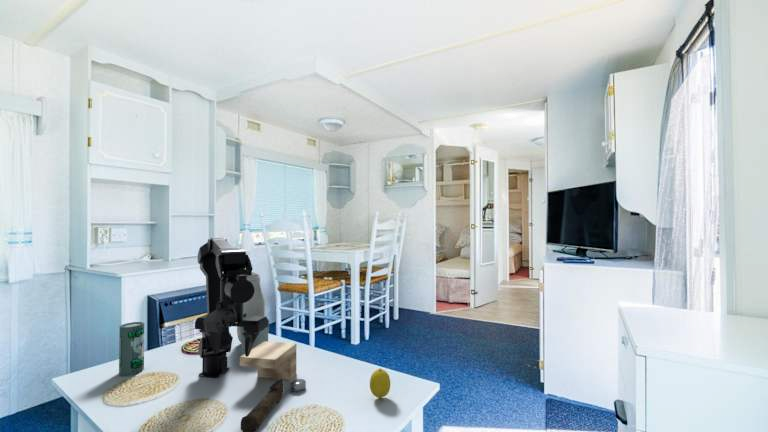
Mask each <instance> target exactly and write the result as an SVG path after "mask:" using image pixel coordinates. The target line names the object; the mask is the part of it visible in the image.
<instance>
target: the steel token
mask: <svg viewBox="0 0 768 432" xmlns="http://www.w3.org/2000/svg"><path fill="white" fill-rule="evenodd" d="M306 385H307V383H306V380H305V379H303V378H297V379H296V378H295V379H293V380H291V381H290V382H289V391H290V392H291V393H293V394H299V393H303V392H304V391H306V387H307V386H306Z"/></svg>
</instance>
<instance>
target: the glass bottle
mask: <svg viewBox="0 0 768 432" xmlns="http://www.w3.org/2000/svg"><path fill="white" fill-rule="evenodd" d="M246 280H248V281H250V282H251V283H252V284H253V286H254V289H255V291H254V295H253V297H252V298H251V299H250V300H249V301H247V302H245V303H244V312H243V313H246V317H245V318H243V319H249V318H252V317H254V316H265V315H266V314H265V313H266V312H265V311H266V310H265V309H266V307H265V306H266V305H265V298H264V295H263V292H262V287H261V277H260V274H259V273H257V272H254V271H252V275H247V276H246ZM236 323H238V322H236ZM236 333H237V339H238V341H239V342H240V343H241V341H242V340H241V333H240V327H237V326H236Z"/></svg>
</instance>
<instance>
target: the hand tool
mask: <svg viewBox="0 0 768 432" xmlns="http://www.w3.org/2000/svg"><path fill="white" fill-rule="evenodd" d="M284 388H285V387H284V379H276V381H275V382H273V383H272V384H271V385H270V386H269V391H267V393H266V394H265V395H264V397H262V398H261V399H260V401H259V402H258V403H257V404H256V405H255V406H254V407H253V408H252V410H250V412H249V413H248V414H247V415H245V416H243V417H242V418H241V419H240V430H241V431H242V432H257V429H259V427H260V425H261V423H262V422H263V420H264V419H265V418H266V416H267V415H268V414H269V413H270V411H271V410H272V409H273V408H274V407H275V405H276V404H279V403H280V402H281V400H282V398H283V395H284Z"/></svg>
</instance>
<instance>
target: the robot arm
mask: <svg viewBox="0 0 768 432" xmlns="http://www.w3.org/2000/svg"><path fill="white" fill-rule="evenodd" d="M197 264H199V270H201V272H202V273H203V275H204V276H205V284H206V286H205V291H206V292H205V293H206V314H204V315H201V316H199V317H197V318H196V319H195V320H194V329H195V330H198V332H199V333H201V338H200V339H199V344H198V347H197V348H198V355H199V357H200V359H202V372H200V373H199V374H198V376H199V377H207V378H219V377H220V376H221V375H224V373H227V371H229V370H230V367H229V366H228V356H227V353H231V351H232V346H233V345H232V344H233V343H232V342H233V338H234V336H232V333H231V332H230V328H231V327H236V328H237V327H243V329H244V330H245V332H244V333H243V335H244V337H245V356H246V357H247V356H249V354H250V352H251V349H252V347H253V345H254V342H255V340H256V338H257V336H258V335H259V333H260V331H262V330H264V329H265V328H267V327H268V326H269V327H270V319H269V318H268V317H267V316H254V317H252V318H249V319H243V318H245V317H246V313H243V312H244V303H245V302H247V301H249V300H250V299H251V298H252V297H253V295H254V291H255V289H254V286H253V284H252V283H251V282H250V281H248V280H246V276H247V275H252V272H253V264H252V262H251V259H250V256H249V254H248V253H247V251H246V250H245V249H244V248H238V247H237V248H236V247H233V246H232V245H231V244H230V243H229V242H228V240H227V237H226V238H225V237H210V238H208V239H207V242H205V243H204V244H203V245H201V246H200V247H199V249H198V252H197ZM268 319H269V320H268ZM237 322H238V323H237Z"/></svg>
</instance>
